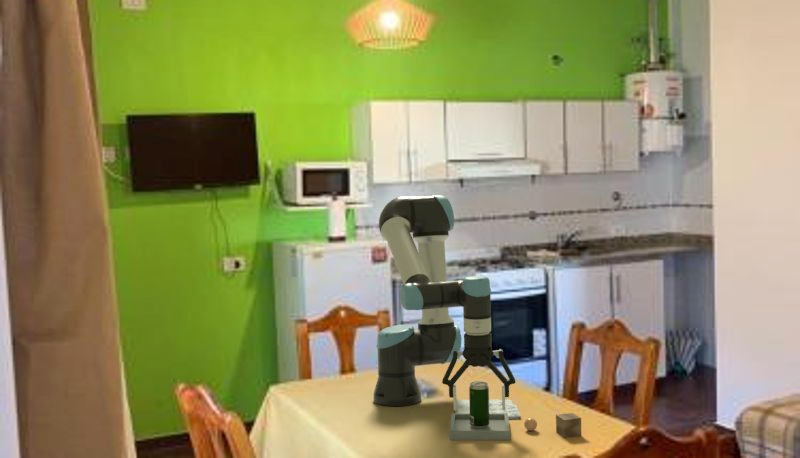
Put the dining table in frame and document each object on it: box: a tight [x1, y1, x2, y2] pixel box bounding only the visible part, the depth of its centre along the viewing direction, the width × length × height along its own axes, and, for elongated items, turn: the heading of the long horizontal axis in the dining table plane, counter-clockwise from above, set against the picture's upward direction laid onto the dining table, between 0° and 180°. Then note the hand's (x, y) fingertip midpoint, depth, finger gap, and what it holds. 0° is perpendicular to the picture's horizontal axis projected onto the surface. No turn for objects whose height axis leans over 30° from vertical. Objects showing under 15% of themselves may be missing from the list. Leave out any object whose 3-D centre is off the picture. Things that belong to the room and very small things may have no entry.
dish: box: [449, 413, 511, 441], centre depth 229 cm, size 16×16×2 cm
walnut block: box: [555, 412, 582, 439], centre depth 223 cm, size 5×5×5 cm
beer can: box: [468, 380, 490, 429], centre depth 228 cm, size 5×5×12 cm
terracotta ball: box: [523, 417, 538, 432], centre depth 227 cm, size 4×4×4 cm
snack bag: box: [454, 398, 522, 420], centre depth 248 cm, size 19×20×2 cm
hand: (479, 408), depth 228 cm, fingers open, 13 cm apart
